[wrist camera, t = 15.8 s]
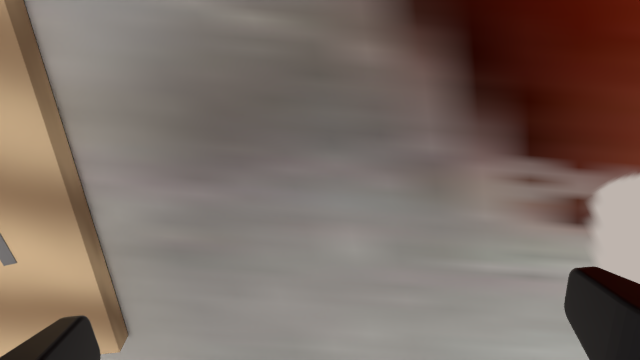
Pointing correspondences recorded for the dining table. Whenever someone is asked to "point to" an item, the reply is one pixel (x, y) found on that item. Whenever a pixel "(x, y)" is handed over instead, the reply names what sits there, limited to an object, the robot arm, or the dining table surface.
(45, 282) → the oak board
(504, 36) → the dining table surface
